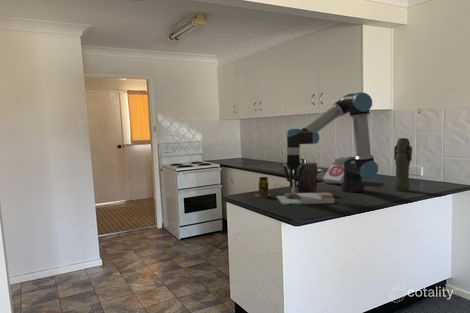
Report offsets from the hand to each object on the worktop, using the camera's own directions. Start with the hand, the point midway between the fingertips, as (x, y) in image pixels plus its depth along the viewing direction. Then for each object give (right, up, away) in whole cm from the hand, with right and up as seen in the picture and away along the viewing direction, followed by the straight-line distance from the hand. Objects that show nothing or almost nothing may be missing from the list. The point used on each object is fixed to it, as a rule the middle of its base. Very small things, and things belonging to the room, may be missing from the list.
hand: (293, 192), depth 214 cm
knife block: (+13, -2, +16) cm, 21 cm away
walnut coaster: (-1, -3, 0) cm, 3 cm away
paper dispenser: (+47, +2, +55) cm, 73 cm away
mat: (-3, -4, -4) cm, 7 cm away
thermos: (+77, -1, +22) cm, 80 cm away
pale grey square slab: (+12, -4, -3) cm, 13 cm away
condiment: (-18, -3, +12) cm, 22 cm away
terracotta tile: (+18, -2, -8) cm, 19 cm away
